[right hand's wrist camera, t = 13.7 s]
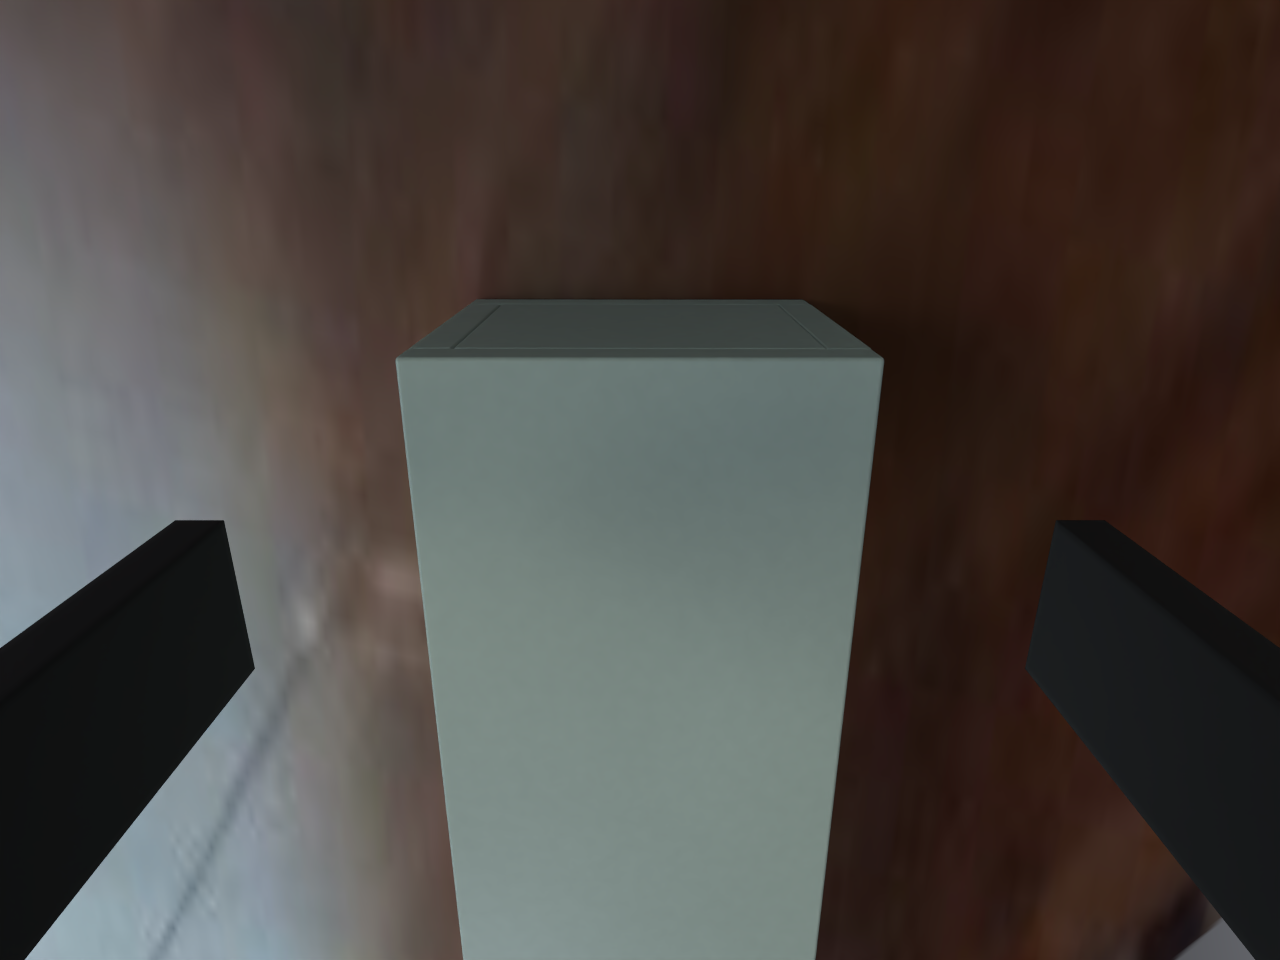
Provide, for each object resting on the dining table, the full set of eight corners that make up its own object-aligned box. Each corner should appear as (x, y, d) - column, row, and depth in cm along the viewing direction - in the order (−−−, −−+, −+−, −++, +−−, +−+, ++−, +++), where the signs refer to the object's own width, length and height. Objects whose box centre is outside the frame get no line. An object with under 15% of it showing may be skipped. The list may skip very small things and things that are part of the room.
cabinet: (764, 831, 32) (806, 1047, 24) (514, 830, 32) (472, 1047, 24) (804, 299, 24) (886, 357, 16) (474, 299, 24) (394, 357, 16)
